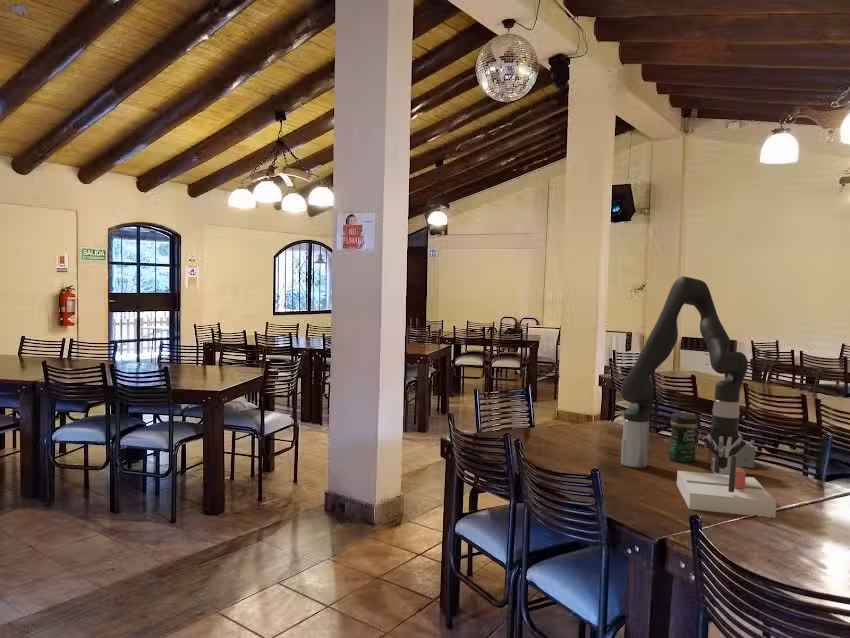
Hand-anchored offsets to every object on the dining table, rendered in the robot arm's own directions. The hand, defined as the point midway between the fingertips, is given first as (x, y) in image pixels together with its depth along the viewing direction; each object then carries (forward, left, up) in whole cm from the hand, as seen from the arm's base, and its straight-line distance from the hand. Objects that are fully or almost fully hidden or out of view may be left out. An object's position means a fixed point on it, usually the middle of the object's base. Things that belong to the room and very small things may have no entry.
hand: (721, 467), depth 203 cm
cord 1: (+1, +10, -5) cm, 11 cm away
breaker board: (+1, 0, -11) cm, 11 cm away
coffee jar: (-4, +46, -11) cm, 47 cm away
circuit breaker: (+12, +33, -11) cm, 37 cm away
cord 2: (+1, -10, -5) cm, 11 cm away
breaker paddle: (+5, 0, -5) cm, 7 cm away
